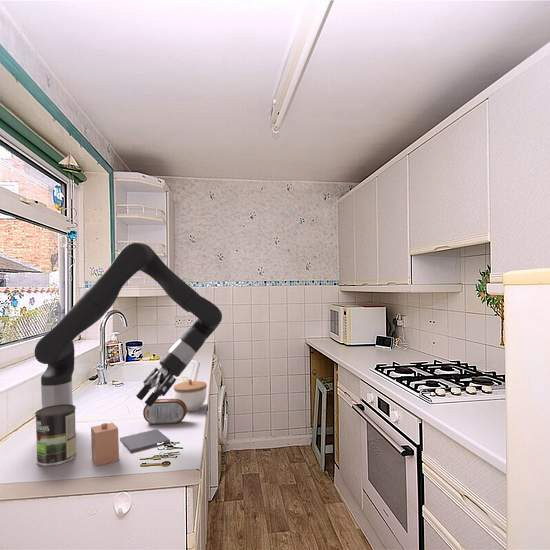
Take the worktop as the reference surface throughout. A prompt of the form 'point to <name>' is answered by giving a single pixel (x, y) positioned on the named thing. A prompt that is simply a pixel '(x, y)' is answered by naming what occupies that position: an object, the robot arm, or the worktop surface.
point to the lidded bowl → (191, 394)
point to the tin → (165, 411)
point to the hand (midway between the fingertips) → (142, 401)
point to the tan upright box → (104, 443)
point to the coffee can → (55, 434)
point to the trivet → (143, 440)
